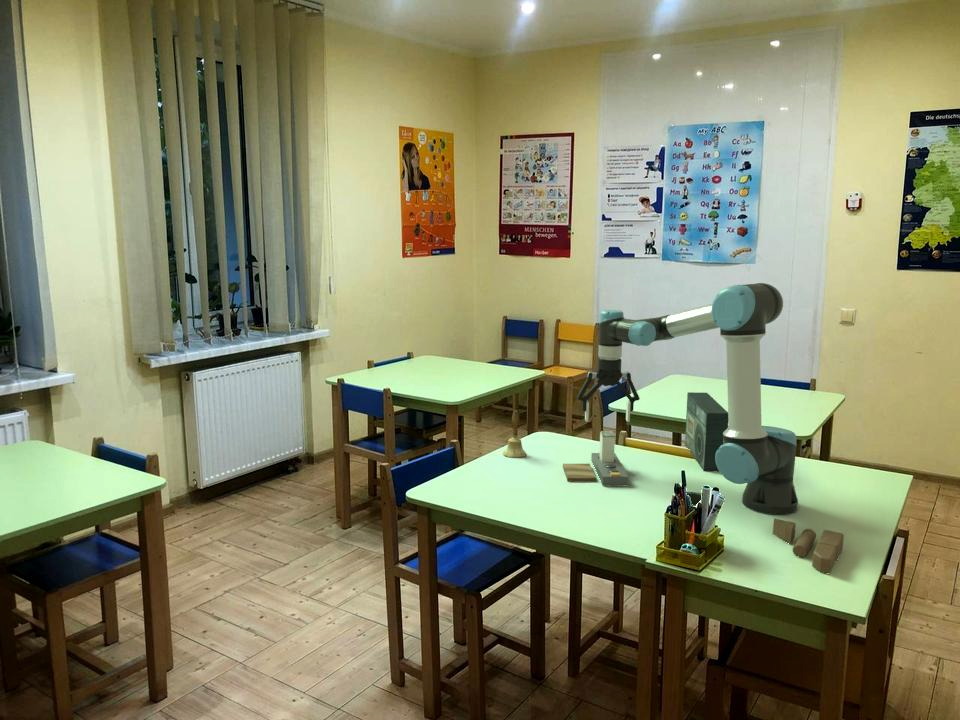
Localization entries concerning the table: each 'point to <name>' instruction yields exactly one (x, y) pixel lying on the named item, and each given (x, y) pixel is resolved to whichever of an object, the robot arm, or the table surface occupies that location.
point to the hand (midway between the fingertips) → (607, 420)
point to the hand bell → (514, 440)
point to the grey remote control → (610, 471)
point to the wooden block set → (824, 550)
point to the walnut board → (579, 472)
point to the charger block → (607, 446)
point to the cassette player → (704, 428)
